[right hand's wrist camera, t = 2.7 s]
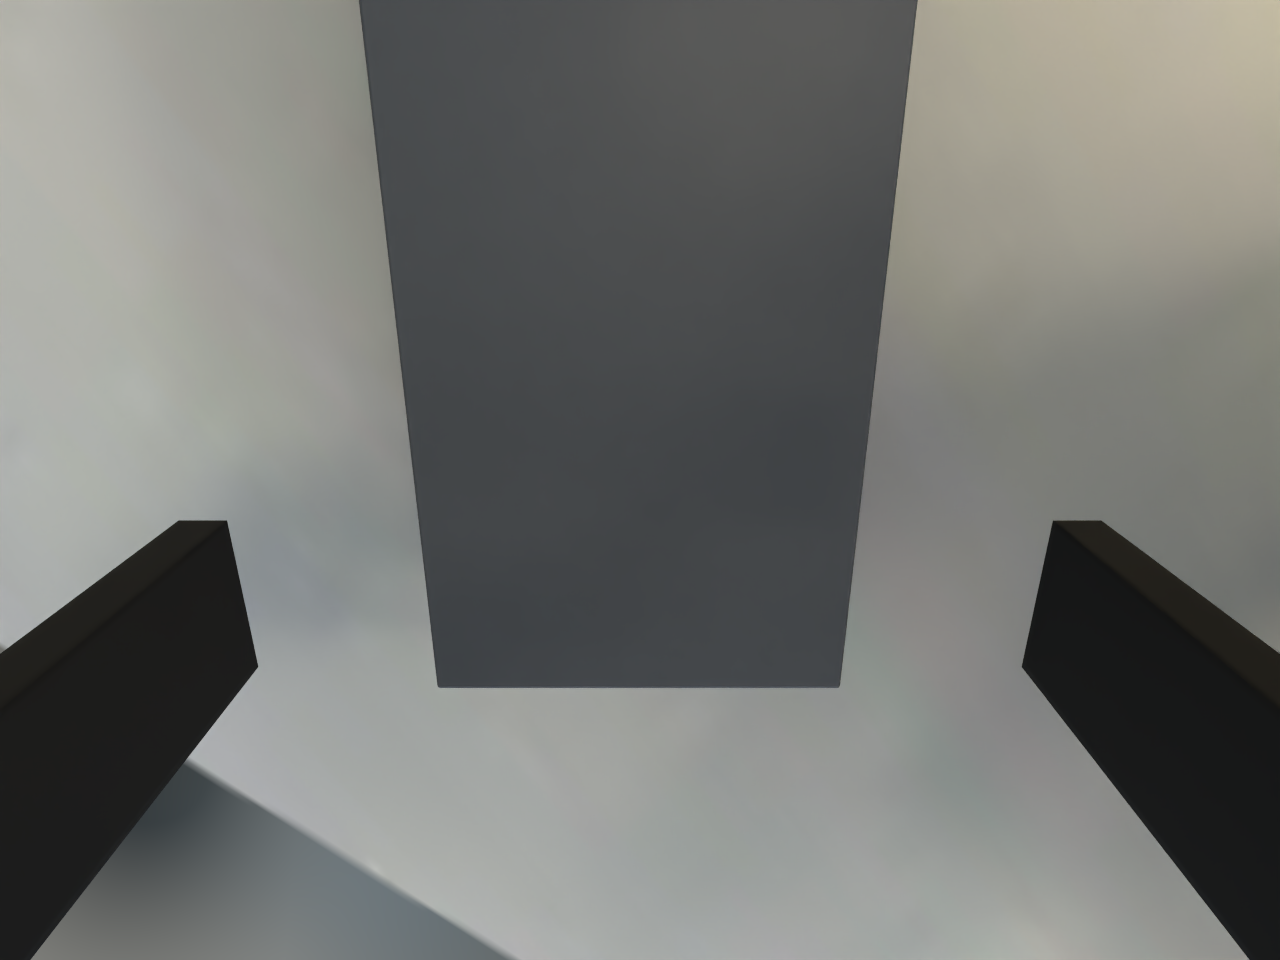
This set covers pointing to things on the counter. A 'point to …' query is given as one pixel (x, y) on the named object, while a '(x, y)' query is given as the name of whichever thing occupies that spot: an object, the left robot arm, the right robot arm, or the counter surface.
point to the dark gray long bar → (638, 325)
